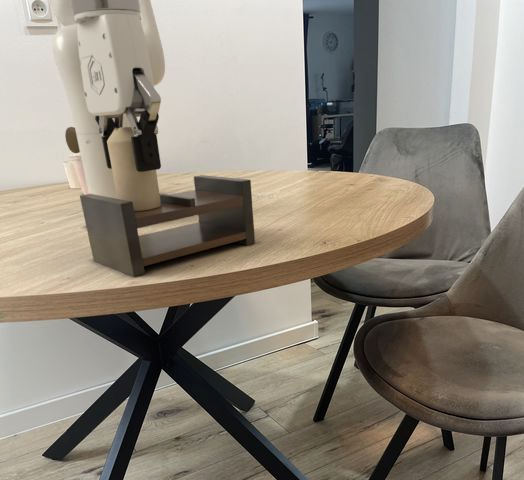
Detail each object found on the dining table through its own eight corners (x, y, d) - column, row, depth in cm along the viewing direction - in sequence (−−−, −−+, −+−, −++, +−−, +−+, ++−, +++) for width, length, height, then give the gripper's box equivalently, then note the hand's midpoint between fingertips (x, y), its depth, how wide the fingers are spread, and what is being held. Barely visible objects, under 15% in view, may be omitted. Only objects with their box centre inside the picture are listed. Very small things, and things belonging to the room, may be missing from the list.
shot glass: (63, 189, 144) (57, 163, 141) (75, 185, 150) (69, 160, 147) (86, 188, 143) (80, 161, 140) (97, 184, 149) (92, 159, 146)
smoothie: (84, 191, 136) (72, 135, 130) (107, 190, 135) (96, 133, 129) (73, 196, 131) (60, 137, 124) (97, 195, 130) (85, 135, 124)
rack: (93, 260, 72) (79, 195, 69) (208, 232, 84) (201, 174, 80) (134, 277, 64) (120, 203, 60) (255, 243, 75) (250, 179, 71)
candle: (151, 211, 65) (138, 126, 61) (112, 212, 67) (96, 129, 62) (167, 203, 70) (155, 123, 66) (130, 204, 71) (116, 126, 67)
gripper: (46, 17, 62) (78, 169, 70) (110, -12, 50) (140, 176, 58) (103, 19, 67) (128, 162, 74) (174, -7, 54) (195, 168, 62)
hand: (133, 167), depth 66 cm, fingers open, 7 cm apart
